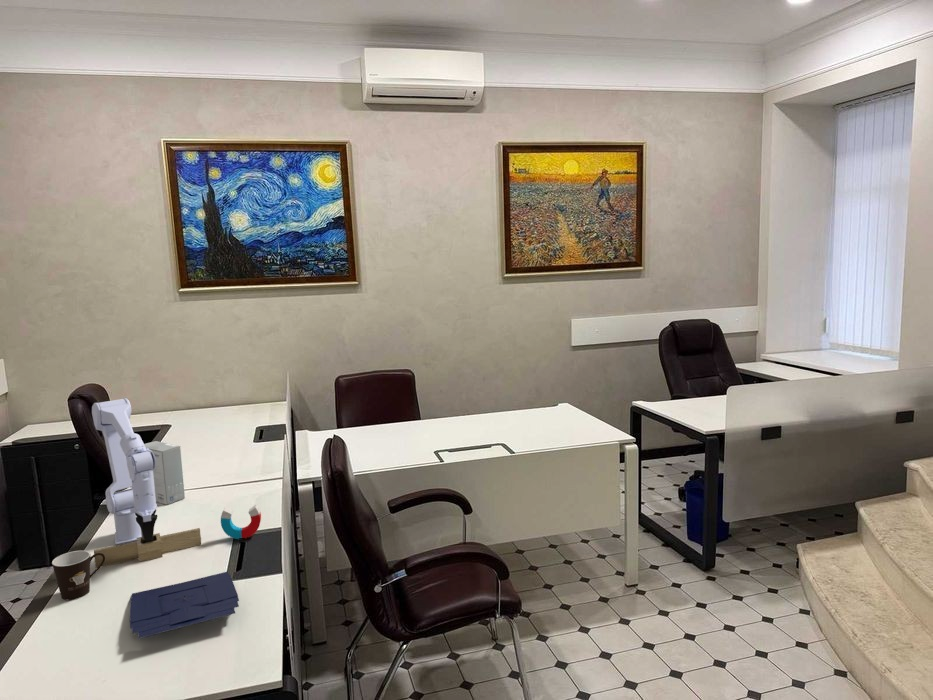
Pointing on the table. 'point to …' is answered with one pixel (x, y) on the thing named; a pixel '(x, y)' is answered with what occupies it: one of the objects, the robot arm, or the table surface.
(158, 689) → the table surface
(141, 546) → the tan wooden bar
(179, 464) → the hard drive box
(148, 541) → the pin
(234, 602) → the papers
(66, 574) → the coffee mug
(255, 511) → the magnet
